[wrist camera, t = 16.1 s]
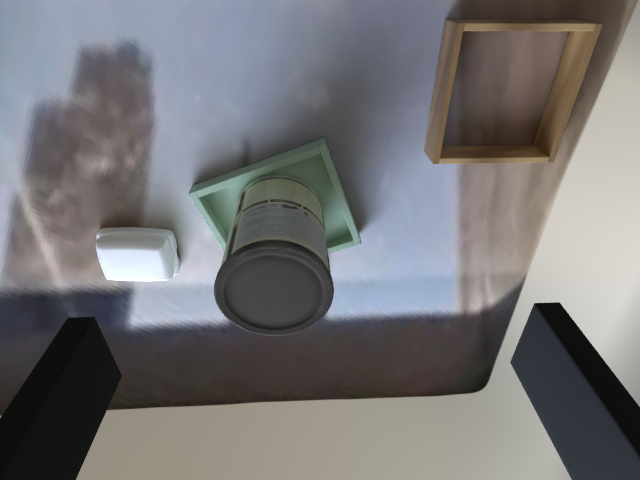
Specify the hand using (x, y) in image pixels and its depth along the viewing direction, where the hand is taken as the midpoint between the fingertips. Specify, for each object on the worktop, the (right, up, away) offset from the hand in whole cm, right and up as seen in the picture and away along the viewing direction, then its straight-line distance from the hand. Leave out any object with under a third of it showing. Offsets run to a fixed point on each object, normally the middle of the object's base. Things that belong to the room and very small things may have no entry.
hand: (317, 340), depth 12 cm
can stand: (+18, +18, +27) cm, 37 cm away
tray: (-5, +7, +34) cm, 35 cm away
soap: (-22, +2, +36) cm, 42 cm away
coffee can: (-5, +6, +34) cm, 34 cm away
